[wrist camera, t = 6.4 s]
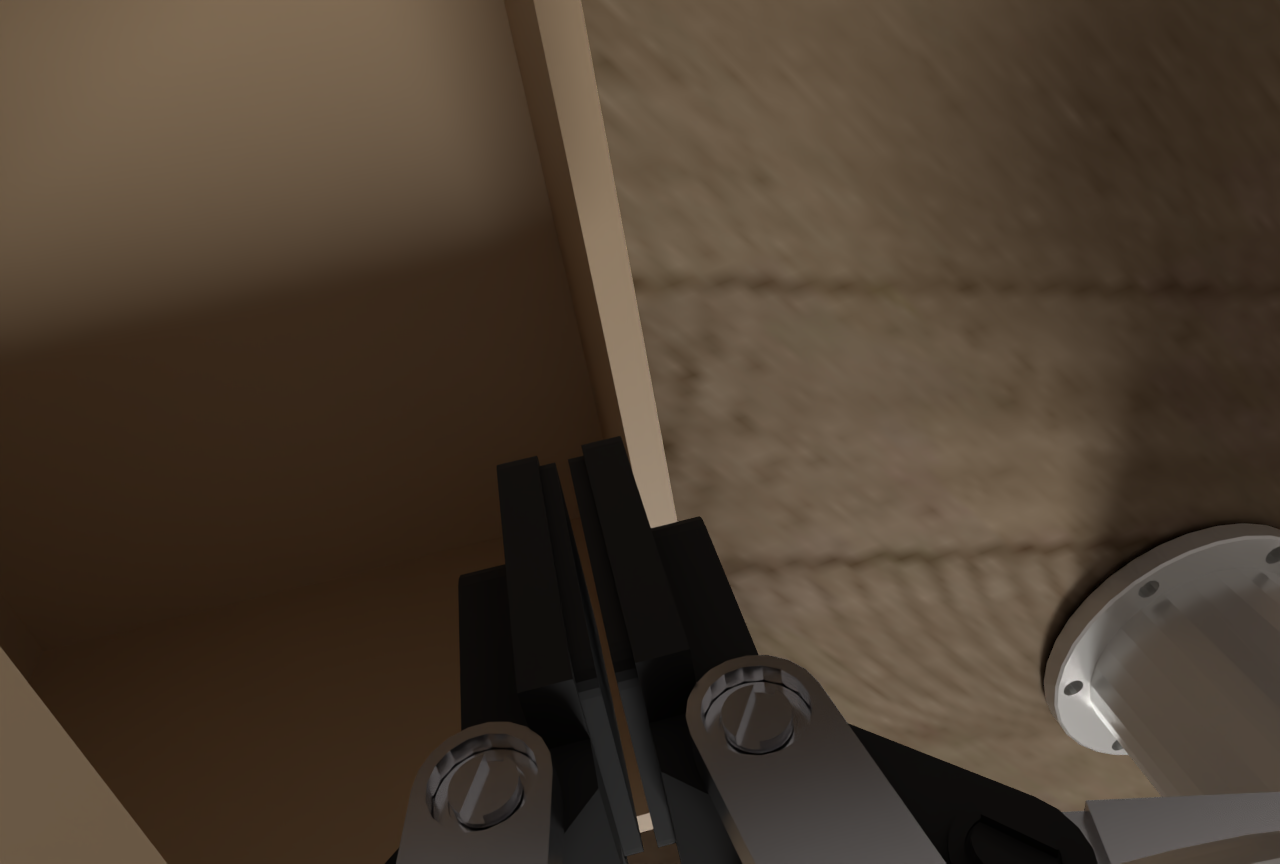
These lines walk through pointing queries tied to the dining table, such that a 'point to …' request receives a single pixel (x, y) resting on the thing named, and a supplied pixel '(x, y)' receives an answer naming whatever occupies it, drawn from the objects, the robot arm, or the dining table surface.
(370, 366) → the carton
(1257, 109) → the dining table surface
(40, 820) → the lid
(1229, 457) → the dining table surface
